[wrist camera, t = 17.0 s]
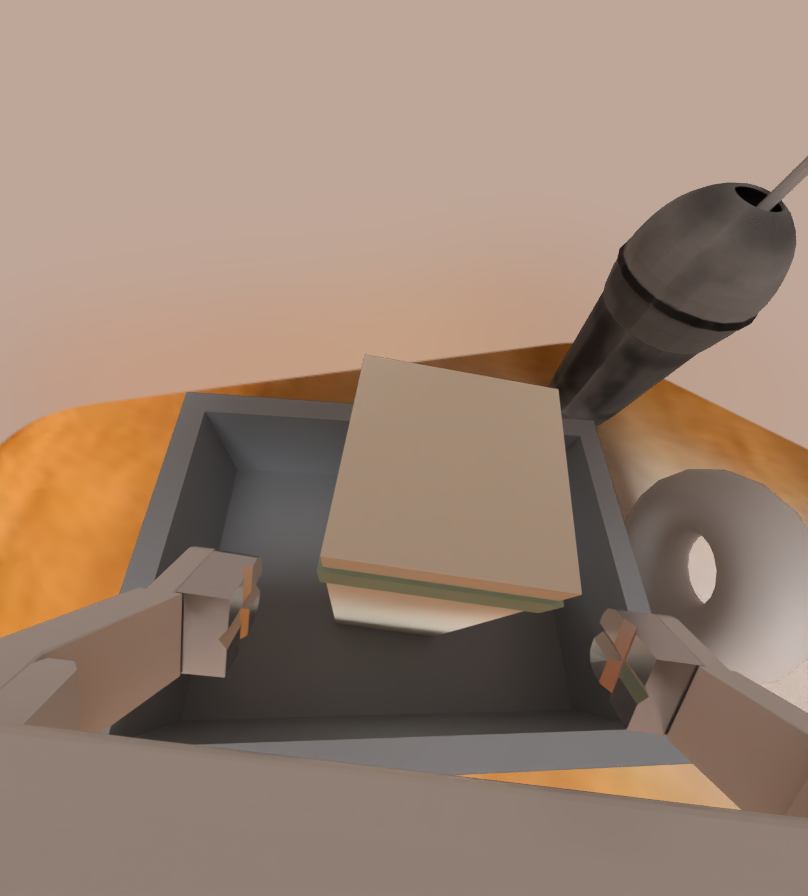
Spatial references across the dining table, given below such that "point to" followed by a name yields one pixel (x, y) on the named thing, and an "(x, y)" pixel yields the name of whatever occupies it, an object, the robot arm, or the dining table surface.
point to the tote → (368, 649)
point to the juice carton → (448, 502)
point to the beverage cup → (678, 292)
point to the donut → (727, 568)
